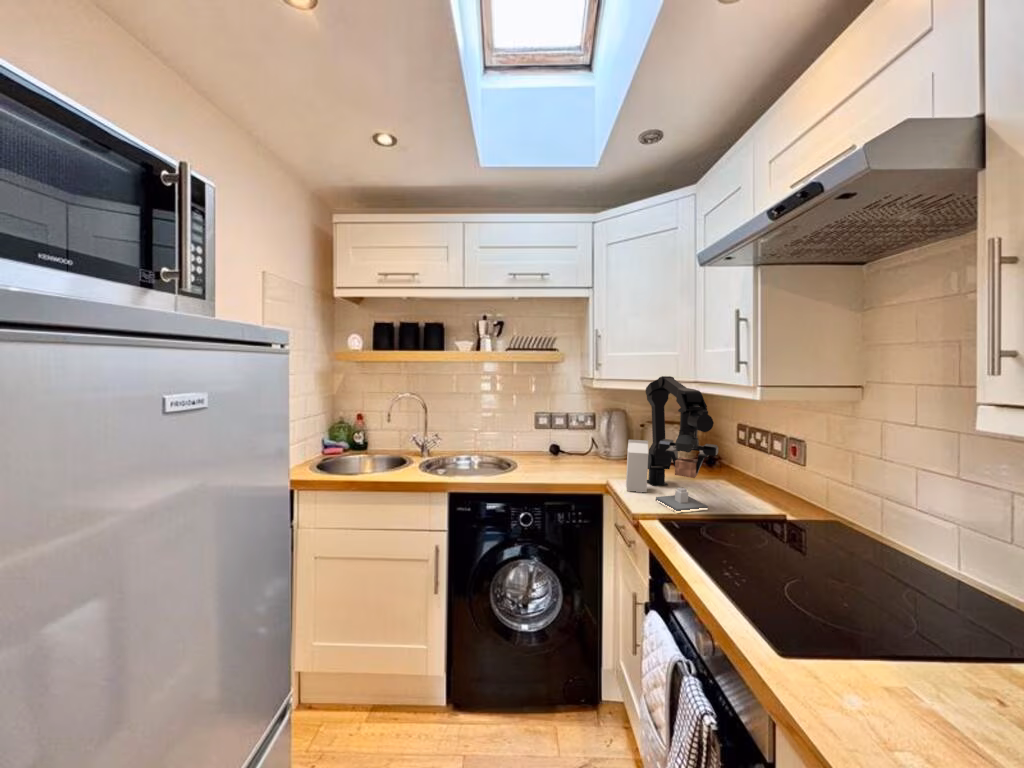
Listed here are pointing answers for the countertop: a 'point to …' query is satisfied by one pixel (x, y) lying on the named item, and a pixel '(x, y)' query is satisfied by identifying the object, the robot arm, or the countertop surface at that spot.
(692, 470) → the collar
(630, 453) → the milk carton
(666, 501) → the key base
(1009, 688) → the countertop surface
